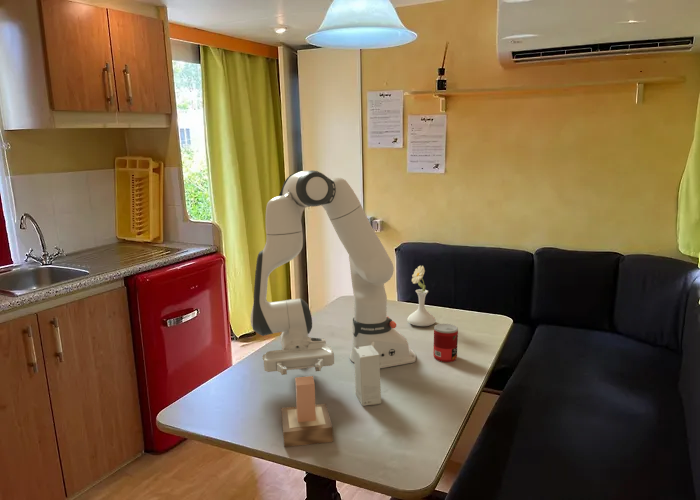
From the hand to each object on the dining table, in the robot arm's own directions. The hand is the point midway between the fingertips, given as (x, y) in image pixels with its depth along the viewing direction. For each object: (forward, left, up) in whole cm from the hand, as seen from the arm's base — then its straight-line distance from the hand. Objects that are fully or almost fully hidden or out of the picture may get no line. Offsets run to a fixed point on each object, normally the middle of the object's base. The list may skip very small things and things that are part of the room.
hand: (301, 370), depth 146 cm
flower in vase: (-53, -58, -11) cm, 79 cm away
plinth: (0, +12, -11) cm, 17 cm away
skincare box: (-19, -2, -11) cm, 22 cm away
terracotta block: (0, +12, -7) cm, 14 cm away
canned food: (-51, -25, -11) cm, 58 cm away
